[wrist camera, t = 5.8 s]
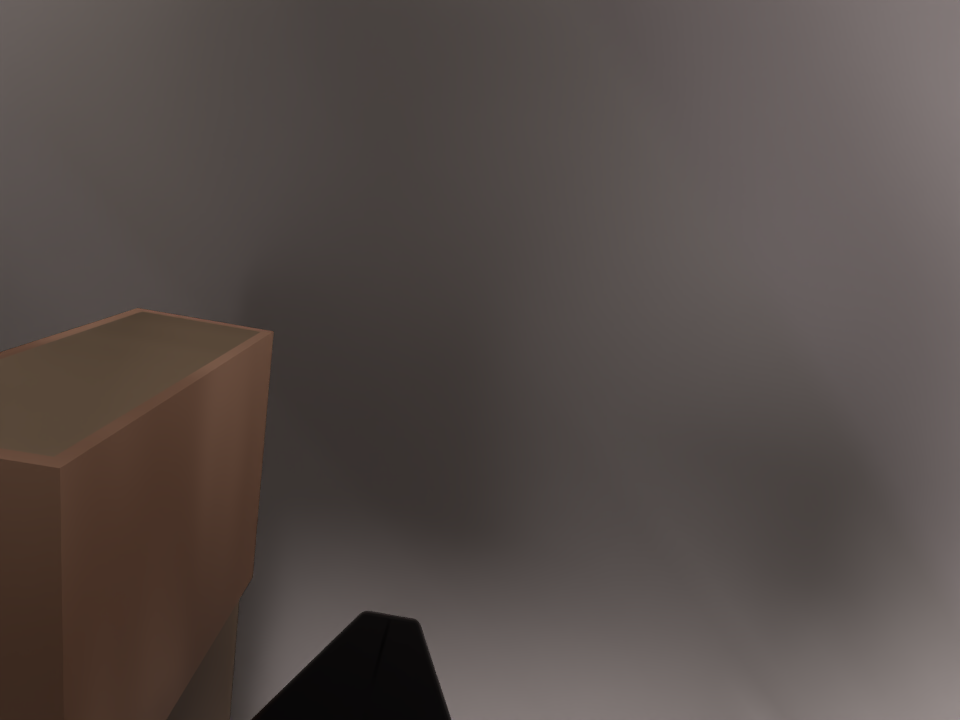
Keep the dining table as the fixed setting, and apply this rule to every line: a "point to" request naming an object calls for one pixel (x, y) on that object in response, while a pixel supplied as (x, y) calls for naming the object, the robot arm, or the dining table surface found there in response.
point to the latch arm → (128, 515)
